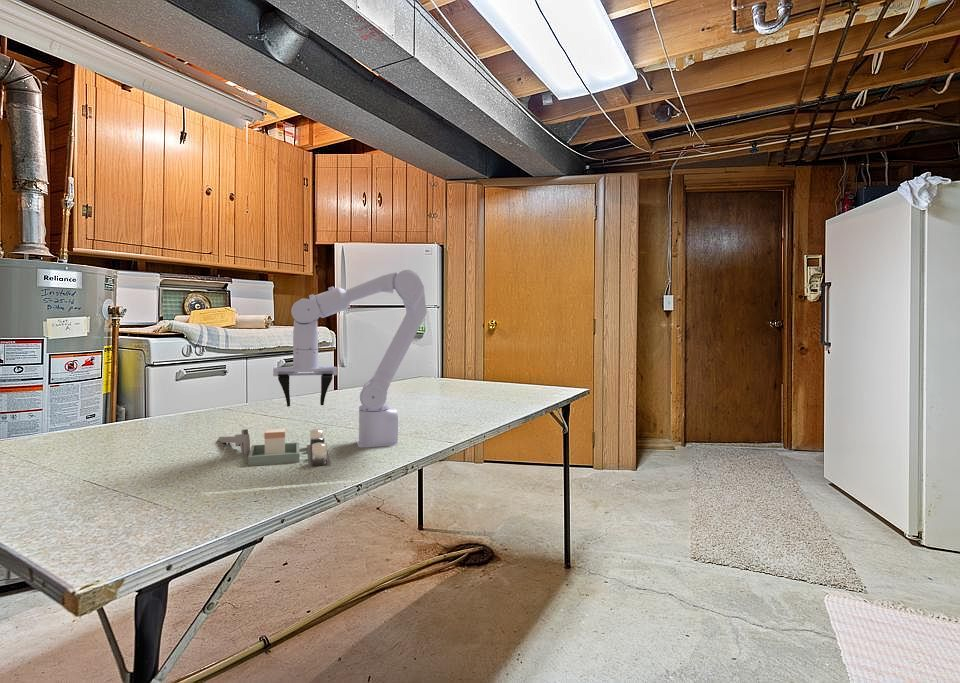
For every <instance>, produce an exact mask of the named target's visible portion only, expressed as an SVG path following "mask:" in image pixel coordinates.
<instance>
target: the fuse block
mask: <svg viewBox="0 0 960 683" xmlns="http://www.w3.org/2000/svg"><path fill="white" fill-rule="evenodd" d="M309 441H310V442H309V444H307V445H306V449H307V450H306V452H307V460H308V467H309V468H317V467H319V468H320V467H331V466H332V464H331V459H330V455H329V450H328V443H326V442H325V438H324V429H323V428H314V429H310V430H309Z"/></svg>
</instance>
